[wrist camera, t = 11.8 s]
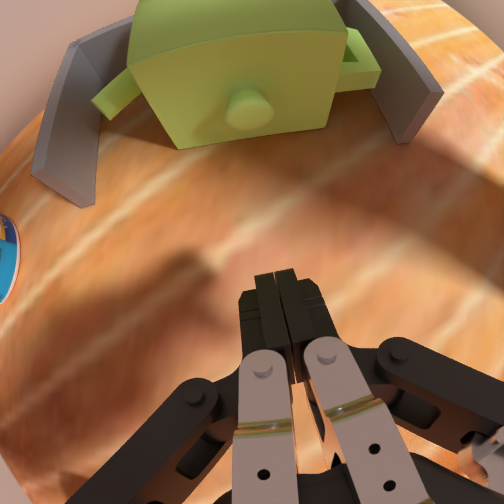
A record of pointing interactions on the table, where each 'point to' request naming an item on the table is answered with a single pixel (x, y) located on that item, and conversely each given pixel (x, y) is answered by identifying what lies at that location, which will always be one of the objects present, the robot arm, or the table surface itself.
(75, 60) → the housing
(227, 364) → the table surface
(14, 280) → the beverage bottle
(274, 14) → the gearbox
